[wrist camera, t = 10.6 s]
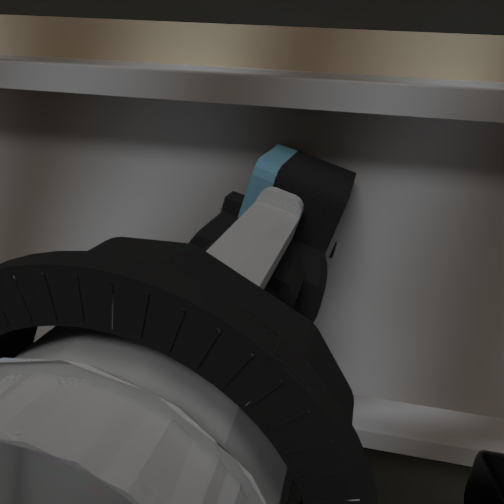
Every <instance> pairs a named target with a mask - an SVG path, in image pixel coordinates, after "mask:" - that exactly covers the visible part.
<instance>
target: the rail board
mask: <svg viewBox="0 0 504 504" xmlns="http://www.w3.org/2000/svg"><path fill="white" fill-rule="evenodd" d="M278 143H279V144H281V145H284V146H287V147H289V148H292V149H295V150H297V151H300V152H303V153H305V154H308V155H311V156H313V157H316V158H319V159H321V160H324V161H326V162H329V163H332V164H334V165H337V166H339V167H342V168H345V169H348V170H350V171H353V172H355V173H356V177H355V180H354V184H353V188H352V191H351V195H350V197H349V200H348V202H347V205H346V207H345V209H344V212H343V214H342V216H341V219H340V221H339V223H338V226H337V228H336V230H335V233H334V235H333V237H332V240H331V242H330V244H329V247H328V249H327V251H326V254H325V255H326V256H327V257H329V256H330V253H331V251H332V249H333V247H334V244H335V242H336V241H337V242H339V243H338V247H337V251H336V255H335V257H334V261H333V263H332V265H331V268H330V270H329V272H328V274H327V282H326V288H325V291H324V295H323V299H322V302H321V306H320V309H319V312H318V315H317V317H316V319H315V321H314V323H313V324H314V325H315V326H316V327H317V328H318V330H319V331H320V333H321V335H322V337H323V338H324V340H325V342H326V344H327V346H328V348H329V349H330V351H331V353H332V355H333V357H334V358H335V360H336V362H337V364H338V366H339V368H340V369H341V371H342V373H343V375H344V377H345V379H346V380H347V382H348V384H349V386H350V388H351V390H352V393H353V396H354V409H353V420H352V425H353V427H354V429H355V431H356V433H357V434H358V436H359V439H360V441H361V444H362V446H363V447H365V448H370V449H376V450H381V451H387V452H393V453H398V454H404V455H409V456H415V457H421V458H426V459H432V460H437V461H443V462H449V463H454V464H460V465H465V466H471V467H472V466H473V462H474V459H475V456H476V455H477V453H478V452H479V451H481V450H487V451H493V452H499V453H504V36H500V35H476V34H452V33H428V32H404V31H381V30H357V29H333V28H309V27H285V26H261V25H238V24H214V23H190V22H166V21H142V20H118V19H95V18H71V17H47V16H23V15H0V264H1V263H3V262H6V261H8V260H11V259H15V258H19V257H23V256H26V255H30V254H36V253H44V252H52V251H88V250H90V249H91V248H93V247H95V246H97V245H99V244H101V243H102V242H104V241H106V240H108V239H110V238H114V237H130V238H141V239H151V240H161V241H171V242H181V243H189V242H190V240H191V239H192V238H193V236H194V235H195V234H196V233H197V232H198V231H199V230H200V229H201V228H203V227H204V226H205V225H206V224H207V223H208V222H210V221H211V220H212V219H213V218H214V217H216V216H217V215H218V214H219V213H220V211H221V208H222V204H223V201H224V198H225V196H226V195H228V194H229V193H230V192H232V191H235V192H238V193H240V194H243V195H245V194H246V191H247V188H248V184H249V181H250V178H251V175H252V173H253V170H254V167H255V165H256V163H257V161H258V159H259V158H260V157H261V156H262V155H264V154H265V153H267V152H268V151H270V150H271V149H273V148H274V147H275V146H276V145H277V144H278ZM53 327H55V326H38V328H37V331H36V335H35V338H34V342H35V341H37V340H38V339H39V338H40V337H42V336H43V335H44V334H46V333H47V332H48V331H50V330H51V329H52V328H53Z"/></svg>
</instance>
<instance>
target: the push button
mask: <svg viewBox="0 0 504 504" xmlns="http://www.w3.org/2000/svg"><path fill="white" fill-rule="evenodd" d="M355 177H356V173H355V172H353V171H350V170H348V169H345V168H342V167H339V166H337V165H334V164H332V163H329V162H326V161H324V160H321V159H319V158H316V157H313V156H311V155H308V154H305V153H303V152H300V151H297V150H295V149H292V148H289V147H287V146H284V145H281V144H279V143H278V144H277V145H276V146H275V147H274V148H273V149H271V150H270V151H268V152H267V153H265V154H264V155H262V156H261V157H260V158H259V159H258V161H257V163H256V165H255V167H254V170H253V173H252V175H251V178H250V181H249V184H248V188H247V191H246V194H245V195H243V194H240V193H238V192H235V191H232V192H230V193H229V194H228V195H226V196H225V198H224V201H223V204H222V208H221V211H220V213H219V214H218V215H217V216H216V217H214V218H213V219H212V220H211V221H210V222H208V223H207V224H206V225H205V226H204V227H203V228H201V229H200V230H199V231H198V232H197V233H196V234H195V235H194V236H193V238H192V239H191V240H190V242H189V243H181V242H171V241H161V240H151V239H141V238H130V237H114V238H110V239H108V240H106V241H104V242H102V243H101V244H99V245H97V246H95V247H93V248H91V249H90V250H88V251H52V252H44V253H36V254H30V255H26V256H23V257H19V258H15V259H11V260H8V261H6V262H3V263H1V264H0V504H288V500H289V496H290V491H291V487H292V482H293V479H294V481H295V483H296V485H297V488H298V490H299V492H300V494H301V497H302V500H301V501H300V502H299V503H298V504H377V497H376V488H375V484H374V480H373V476H372V472H371V469H370V465H369V461H368V459H367V456H366V454H365V451H364V449H363V446H362V444H361V441H360V439H359V436H358V434H357V433H356V431H355V429H354V427H353V425H352V420H353V409H354V396H353V393H352V390H351V388H350V386H349V384H348V382H347V380H346V379H345V377H344V375H343V373H342V371H341V369H340V368H339V366H338V364H337V362H336V360H335V358H334V357H333V355H332V353H331V351H330V349H329V348H328V346H327V344H326V342H325V340H324V338H323V337H322V335H321V333H320V331H319V330H318V328H317V327H316V326H315V325H314V324H313V323H314V321H315V319H316V317H317V315H318V312H319V309H320V306H321V302H322V299H323V295H324V291H325V288H326V282H327V274H328V272H329V270H330V268H331V265H332V263H333V261H334V257H335V255H336V251H337V247H338V243H339V242H337V241H336V242H335V244H334V247H333V249H332V251H331V253H330V256H329V257H327V256H326V255H325V254H326V251H327V249H328V247H329V244H330V242H331V240H332V237H333V235H334V233H335V230H336V228H337V226H338V223H339V221H340V219H341V216H342V214H343V212H344V209H345V207H346V205H347V202H348V200H349V197H350V195H351V191H352V188H353V184H354V180H355ZM38 326H55V327H53V328H52V329H51V330H50V331H48V332H47V333H46V334H44V335H43V336H42V337H40V338H39V339H38V340H37V341H35V342H34V338H35V335H36V331H37V328H38Z"/></svg>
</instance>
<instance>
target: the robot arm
mask: <svg viewBox="0 0 504 504" xmlns="http://www.w3.org/2000/svg"><path fill="white" fill-rule="evenodd" d="M464 504H504V453H499V452H493V451H487V450H481V451H479V452H478V453H477V455H476V456H475V459H474V462H473V466H472V469H471V472H470V475H469V478H468V482H467V485H466V488H465V493H464Z"/></svg>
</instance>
